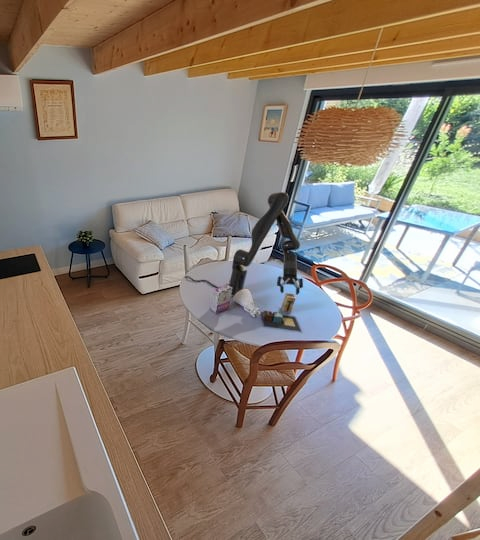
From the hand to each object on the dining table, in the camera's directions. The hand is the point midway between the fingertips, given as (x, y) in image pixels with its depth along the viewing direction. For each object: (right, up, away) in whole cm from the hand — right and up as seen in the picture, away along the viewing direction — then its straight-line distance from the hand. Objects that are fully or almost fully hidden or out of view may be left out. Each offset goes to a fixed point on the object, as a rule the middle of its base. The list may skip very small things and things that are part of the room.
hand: (289, 293), depth 179 cm
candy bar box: (-42, -11, +6) cm, 44 cm away
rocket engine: (-26, -11, +6) cm, 29 cm away
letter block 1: (-17, -15, -4) cm, 23 cm away
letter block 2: (-11, -16, -5) cm, 20 cm away
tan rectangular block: (-1, -12, +3) cm, 12 cm away
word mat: (-10, -17, -6) cm, 20 cm away
